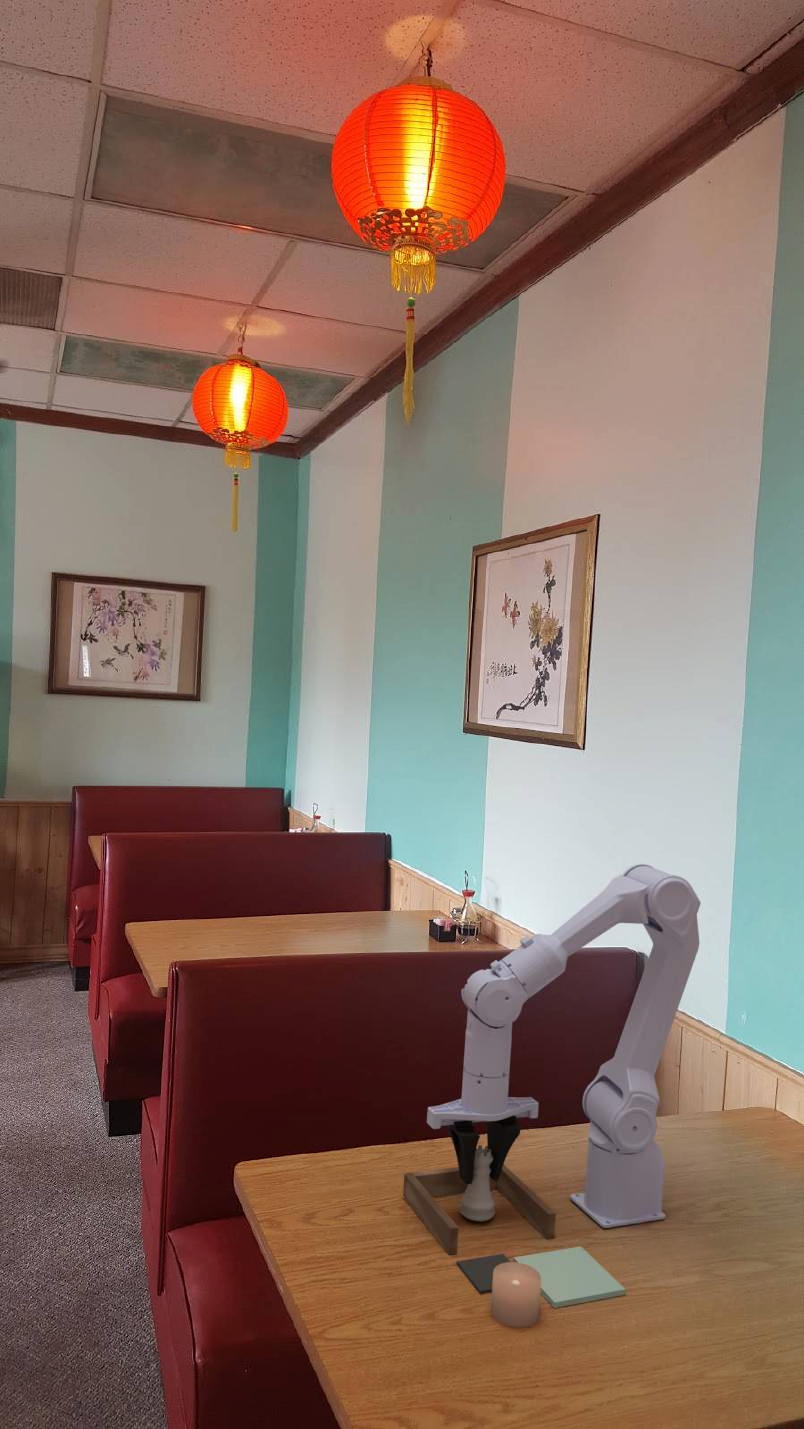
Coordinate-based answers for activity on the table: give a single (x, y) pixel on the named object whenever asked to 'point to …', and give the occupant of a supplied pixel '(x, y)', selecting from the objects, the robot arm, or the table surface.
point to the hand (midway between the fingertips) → (479, 1178)
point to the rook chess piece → (479, 1189)
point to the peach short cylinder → (515, 1294)
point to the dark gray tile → (481, 1270)
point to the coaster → (571, 1277)
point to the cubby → (448, 1182)
